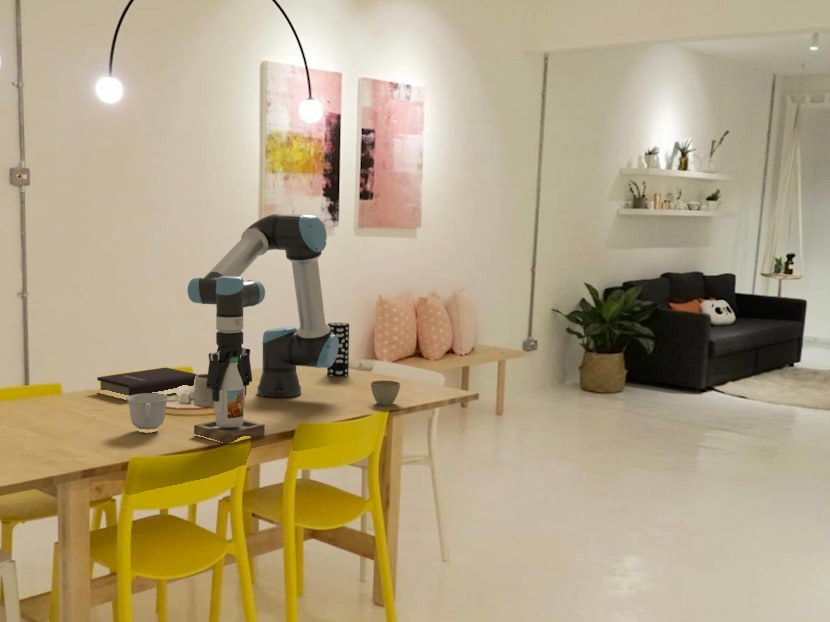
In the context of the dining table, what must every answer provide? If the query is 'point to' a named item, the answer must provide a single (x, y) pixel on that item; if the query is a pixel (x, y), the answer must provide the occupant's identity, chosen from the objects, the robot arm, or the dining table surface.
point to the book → (146, 381)
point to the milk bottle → (231, 397)
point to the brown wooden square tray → (229, 431)
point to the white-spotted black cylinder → (340, 350)
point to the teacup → (147, 410)
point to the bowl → (385, 391)
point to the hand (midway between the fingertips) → (229, 409)
